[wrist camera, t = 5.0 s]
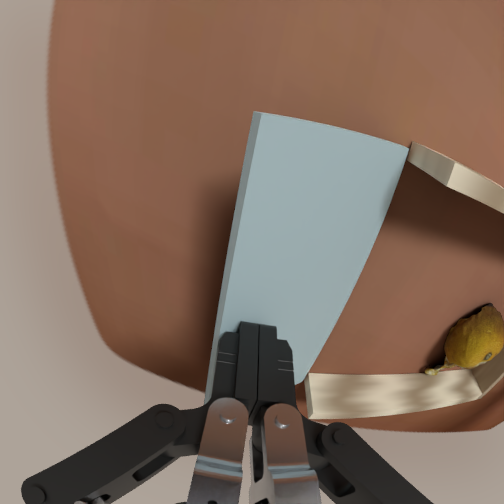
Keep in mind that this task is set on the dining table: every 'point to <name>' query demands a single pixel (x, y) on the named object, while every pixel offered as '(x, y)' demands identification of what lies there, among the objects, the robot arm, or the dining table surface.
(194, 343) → the dining table surface
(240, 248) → the panel
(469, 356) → the fruit
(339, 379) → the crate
